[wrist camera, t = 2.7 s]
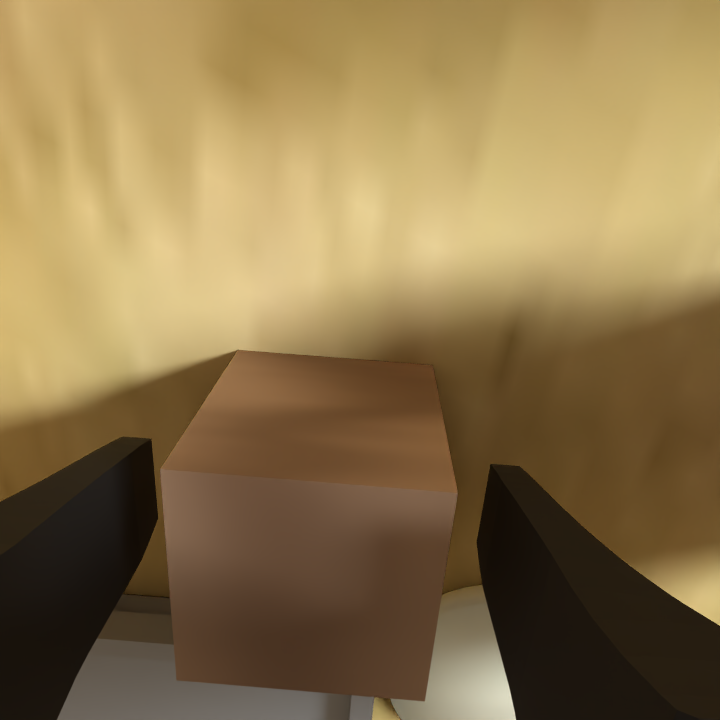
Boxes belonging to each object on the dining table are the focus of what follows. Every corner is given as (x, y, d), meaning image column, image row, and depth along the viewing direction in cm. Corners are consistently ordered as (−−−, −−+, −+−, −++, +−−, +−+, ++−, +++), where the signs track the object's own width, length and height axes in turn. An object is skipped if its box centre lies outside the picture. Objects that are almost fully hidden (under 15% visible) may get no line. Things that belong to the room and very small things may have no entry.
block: (432, 364, 13) (458, 492, 9) (412, 522, 15) (425, 701, 10) (238, 348, 13) (159, 469, 9) (240, 508, 15) (176, 679, 10)
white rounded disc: (615, 586, 16) (630, 614, 15) (567, 733, 18) (577, 766, 17) (399, 565, 16) (400, 592, 15) (378, 714, 18) (378, 746, 17)
